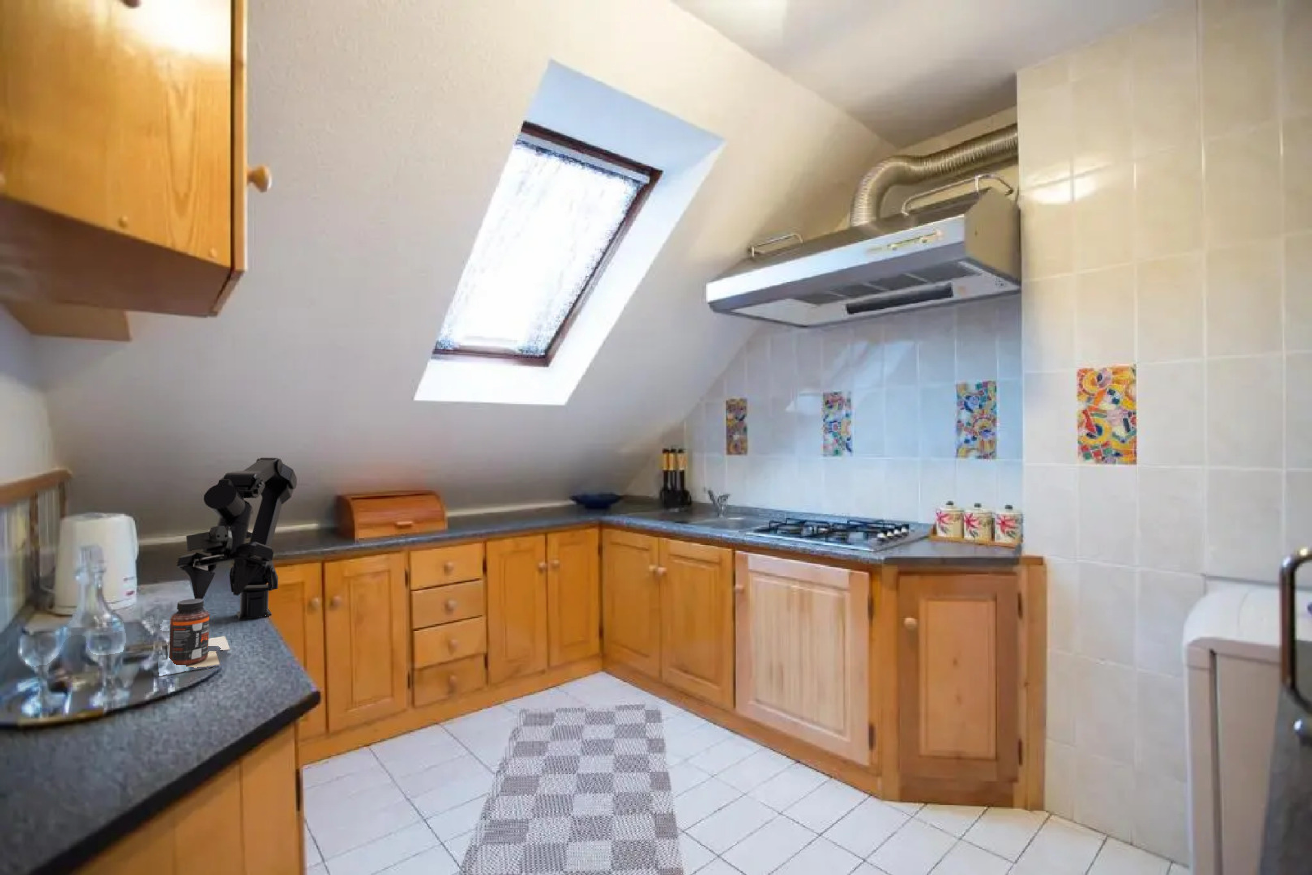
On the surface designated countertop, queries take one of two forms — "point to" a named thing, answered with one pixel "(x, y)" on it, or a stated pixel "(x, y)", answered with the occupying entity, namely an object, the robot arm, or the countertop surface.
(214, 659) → the beech pad
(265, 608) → the robot arm
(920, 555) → the countertop surface
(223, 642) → the cream flat square slab
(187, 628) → the supplement bottle
